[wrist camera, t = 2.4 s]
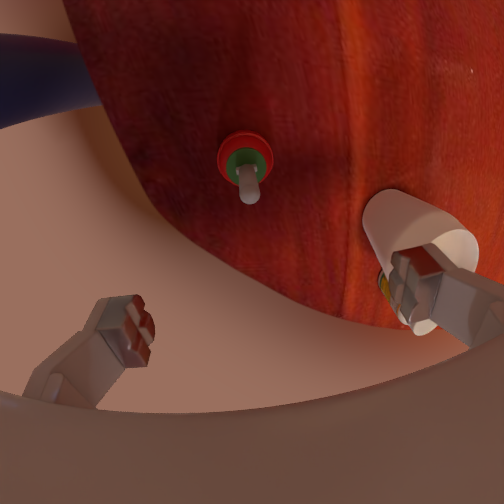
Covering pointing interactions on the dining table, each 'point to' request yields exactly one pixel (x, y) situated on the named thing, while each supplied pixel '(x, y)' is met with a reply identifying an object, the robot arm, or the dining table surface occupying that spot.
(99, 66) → the dining table surface
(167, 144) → the dining table surface
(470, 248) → the cup
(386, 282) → the supplement bottle
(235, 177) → the red maraca
